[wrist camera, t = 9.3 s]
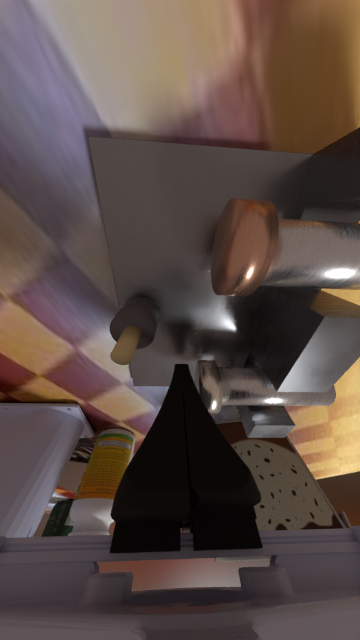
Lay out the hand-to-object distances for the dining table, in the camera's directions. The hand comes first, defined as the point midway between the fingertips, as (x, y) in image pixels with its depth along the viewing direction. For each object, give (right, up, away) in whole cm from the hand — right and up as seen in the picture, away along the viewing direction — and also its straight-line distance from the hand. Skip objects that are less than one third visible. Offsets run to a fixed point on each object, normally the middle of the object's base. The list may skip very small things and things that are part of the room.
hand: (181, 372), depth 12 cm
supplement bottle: (-9, -13, +10) cm, 19 cm away
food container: (+9, -12, +10) cm, 18 cm away
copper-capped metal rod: (+6, +8, -4) cm, 11 cm away
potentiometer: (-3, +5, -1) cm, 6 cm away
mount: (+2, +5, 0) cm, 5 cm away
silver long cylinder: (+6, 0, +1) cm, 6 cm away
